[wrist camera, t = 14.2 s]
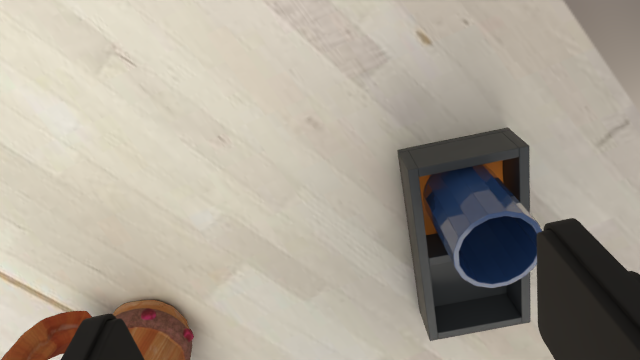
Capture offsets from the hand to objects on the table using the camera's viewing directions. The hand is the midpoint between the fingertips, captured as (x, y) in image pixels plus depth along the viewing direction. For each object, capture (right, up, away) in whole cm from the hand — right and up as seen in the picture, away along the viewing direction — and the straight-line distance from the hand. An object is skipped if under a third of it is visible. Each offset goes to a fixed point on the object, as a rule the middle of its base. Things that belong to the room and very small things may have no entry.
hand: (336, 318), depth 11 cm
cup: (+12, +2, +31) cm, 34 cm away
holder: (+13, -1, +34) cm, 36 cm away
